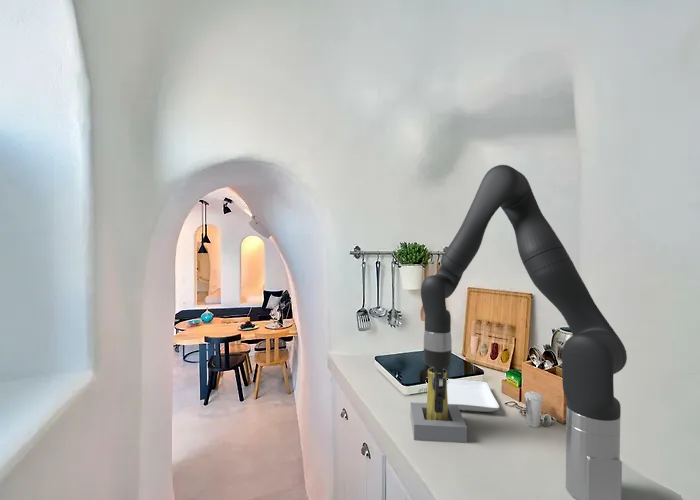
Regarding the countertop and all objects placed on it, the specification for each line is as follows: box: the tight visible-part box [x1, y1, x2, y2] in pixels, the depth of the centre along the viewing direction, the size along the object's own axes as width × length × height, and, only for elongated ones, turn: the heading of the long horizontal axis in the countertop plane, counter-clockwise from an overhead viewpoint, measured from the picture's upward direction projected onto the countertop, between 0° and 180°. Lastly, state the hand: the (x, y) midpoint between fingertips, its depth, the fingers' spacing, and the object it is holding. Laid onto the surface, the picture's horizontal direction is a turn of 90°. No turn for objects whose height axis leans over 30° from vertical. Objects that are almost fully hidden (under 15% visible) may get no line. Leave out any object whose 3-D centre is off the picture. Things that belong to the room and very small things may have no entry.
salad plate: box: [425, 378, 500, 413], centre depth 121 cm, size 21×21×3 cm
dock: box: [410, 402, 468, 444], centre depth 102 cm, size 14×14×4 cm
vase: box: [426, 367, 448, 421], centre depth 102 cm, size 6×6×14 cm
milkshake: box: [524, 390, 546, 428], centre depth 104 cm, size 4×5×10 cm
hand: (437, 406), depth 102 cm, fingers closed on vase, 5 cm apart
